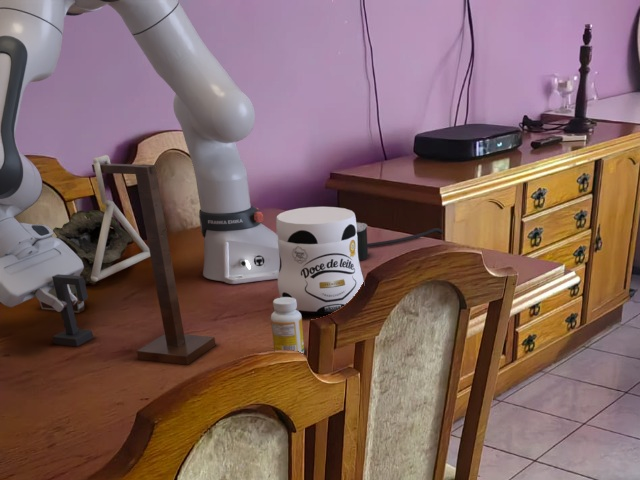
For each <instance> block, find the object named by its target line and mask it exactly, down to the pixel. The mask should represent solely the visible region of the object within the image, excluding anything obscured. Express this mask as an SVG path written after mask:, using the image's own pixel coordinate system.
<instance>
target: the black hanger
mask: <svg viewBox="0 0 640 480" xmlns="http://www.w3.org/2000/svg"><path fill="white" fill-rule="evenodd" d="M52 278H53V282H54V287H55V291H56V295H57V298H60V297H61V298H62V299H63V301H65V302H66V303H67V306H66V308H65V309H64V310H62V311H60V315H61V318H62V319H61V320H62V323H63V327H64V330H63V331H61V332H59V333H57V334H55V335H54V336H52V338H53V343H54V345H57V346H67V347H68V346H69V347H76V348H78V347H80V346H81V345H84V344H85V343H87V342H88V341H90V340H92V339H94V334H93V333H94V332H93V330H92V329H85V328H84V329H82V328H78V324H77V320H76V315H75V312H74V311H73V307H72V303H71V299H70V294H69V290H68V286H67V284H69V285H75V287H76V291H77V295H78V300H79V301H84V302H85V301H86V300H88V299H89V295H88V291H87V290H88V289H87V285H85V281H84V277H83V276H72V275H60V274H57V275H55V276H52Z"/></svg>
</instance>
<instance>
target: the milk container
mask: <svg viewBox="0 0 640 480" xmlns="http://www.w3.org/2000/svg"><path fill="white" fill-rule="evenodd" d="M275 223H276V224H275V226H276V227H275V228H276V234H277V236H278V248H279V256H280V268H279V274H278V279H277V290H278V294H279V298H281V297H291V298H294V299H296V303H297V308H296V309H295V310H297V311H299V312H300V314H304V315H315V316H317V315H331V314H330V313H332V312H334V311H336V310H338V309H340V308H341V307H342V306H344V305H345V304H346V303H348V302H349V301H350V300H351V299H352V298H353V297H354V296H355V294H356V293H357V292H358V290H359V289H360V287H361V285H362V284H363V282H364V283H365V277H364V274H363V270H362V266H361V265H360V261H359V259H358V240H357V224H356V223H357V218H356V214H355V212H354V211H353V210H351V209H347V208H344V207H336V206H308V207H299V208H294V209H289V210H286V211H283V212H280V213H279V214H277V216H276V221H275ZM332 314H333V313H332Z"/></svg>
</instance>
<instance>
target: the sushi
mask: <svg viewBox="0 0 640 480" xmlns="http://www.w3.org/2000/svg"><path fill="white" fill-rule="evenodd" d="M356 224H357V240H358V259H359V262H362V261H365V260H366V259H367V258H368V256H369V247H368V246H367V244H368V232H367V231H368V224H367V223H364V222H359V221H358V222H357V221H356Z"/></svg>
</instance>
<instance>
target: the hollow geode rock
mask: <svg viewBox="0 0 640 480" xmlns="http://www.w3.org/2000/svg"><path fill="white" fill-rule="evenodd" d="M104 213H105V211H103V210H101V209H100V210H97V209H96V210H95V209H93V210H92V209H91V210H88V211H85V210H84V211H83V210H78V211H76V212H73V213H72V215H71V216H70V218H69V221H68V222H66V223H64V224H63V225H62V227H57V226H55V227H54V228H53V229H52V231H53V234H55V237H56V238H58V239H60V240H61V241H63V242H64V243H65V244H66V245H67V246H68V247H69V248H70V249H71V250H72V251H73V252H74V253H75V254H76V255H77V256H78V257H79V258H80V259H81V260H82V262H83V265H84V269H83V270H82V272H81V274H80V276H83V277H84V281H85V285H86V286H88V285H92V286H93V285H96V284H97V282H98V281H96V282H94V281H92V280H91V274H92V269H93V265H94V260H95V255H96V251H97V246H98V241H99V237H100V232H101V227H102V223H103V218H104ZM133 241H134V240H133V238H132V237H131V236H130V234H129V233H128V232H127V231H126V229H123V227H121V226H119V223H118V219H117V218H116V217H113V216H112V218H111V223H110V227H109V232H108V237H107V241H106V246H105V251H104V255H103V260H102V265H101V270H100V271H102V270H104V269H106V268H108V267H111V266H113V265H114V263H115V261H116V260H120V259H121V257H122V256H123V255H124V254H125V251H126V248H127V246H128V243H130V244H131V243H132V242H133Z"/></svg>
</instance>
